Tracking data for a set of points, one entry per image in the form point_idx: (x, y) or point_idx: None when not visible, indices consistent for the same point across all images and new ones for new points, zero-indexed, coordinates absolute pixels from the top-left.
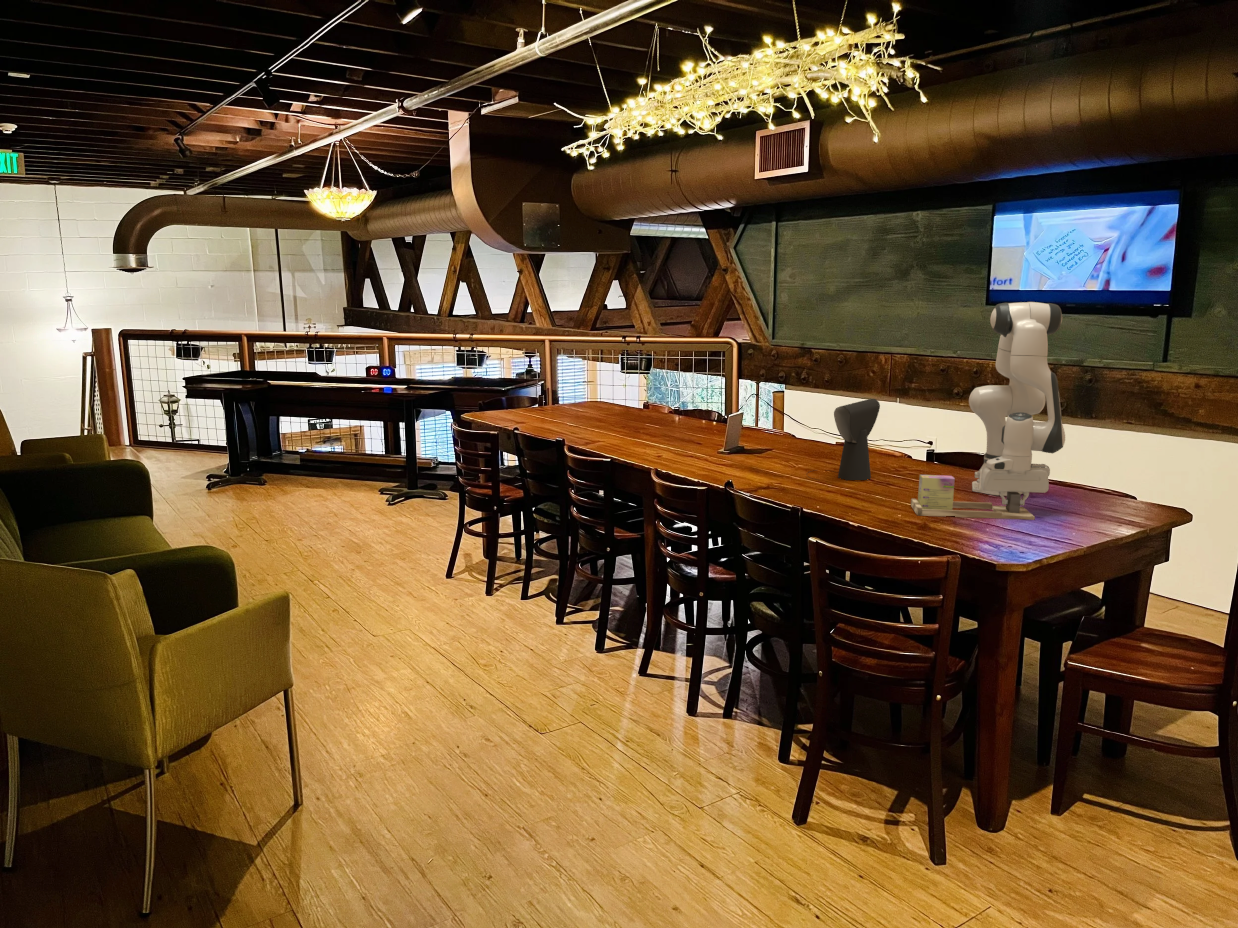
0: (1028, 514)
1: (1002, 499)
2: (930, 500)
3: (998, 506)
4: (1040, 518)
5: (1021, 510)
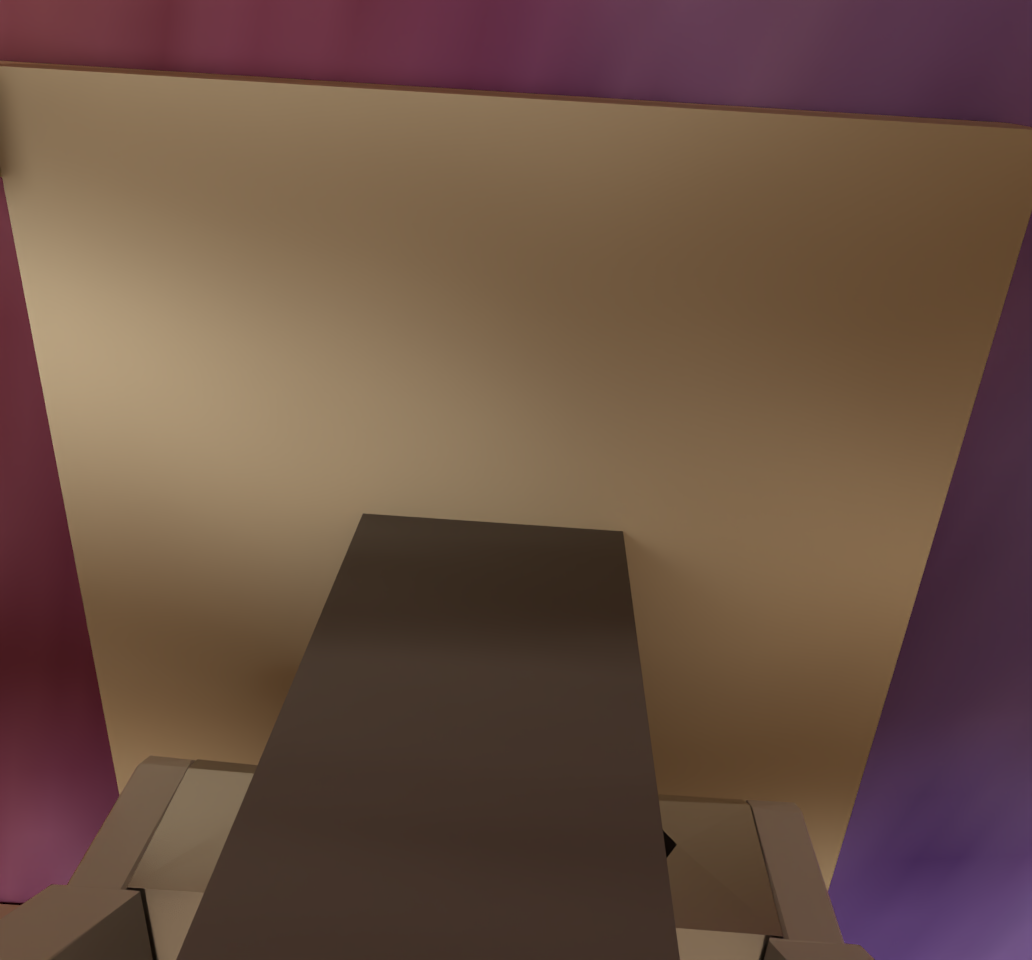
0: None
1: (89, 893)
2: None
3: (208, 185)
4: (937, 920)
5: (741, 634)
